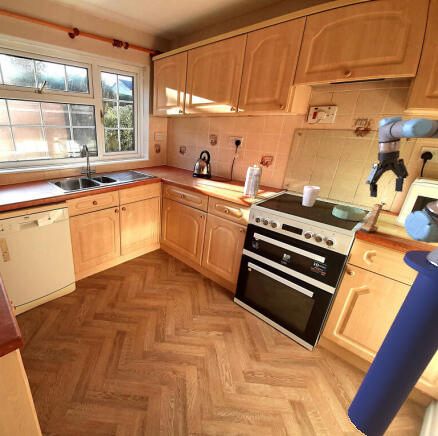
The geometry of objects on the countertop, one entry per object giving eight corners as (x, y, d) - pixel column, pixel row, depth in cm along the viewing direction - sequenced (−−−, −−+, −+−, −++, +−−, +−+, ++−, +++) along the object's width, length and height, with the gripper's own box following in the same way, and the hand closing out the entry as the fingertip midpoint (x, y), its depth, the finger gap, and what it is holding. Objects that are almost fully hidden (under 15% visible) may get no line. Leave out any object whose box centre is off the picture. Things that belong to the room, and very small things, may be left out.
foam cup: (296, 203, 173) (301, 186, 168) (305, 202, 176) (310, 185, 172) (309, 208, 165) (314, 189, 160) (318, 206, 168) (323, 188, 164)
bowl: (365, 223, 140) (368, 215, 138) (332, 217, 148) (335, 210, 146) (360, 216, 152) (363, 208, 151) (330, 211, 160) (333, 203, 158)
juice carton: (257, 196, 188) (263, 165, 179) (255, 198, 182) (261, 166, 173) (245, 194, 193) (250, 163, 184) (242, 196, 187) (247, 165, 178)
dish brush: (367, 233, 128) (378, 206, 122) (360, 230, 131) (370, 203, 126) (376, 232, 129) (387, 205, 123) (368, 229, 133) (378, 203, 127)
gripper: (403, 146, 121) (400, 188, 126) (357, 156, 120) (356, 198, 125) (421, 145, 114) (417, 189, 119) (372, 156, 112) (370, 200, 118)
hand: (386, 194), depth 122 cm, fingers open, 13 cm apart
